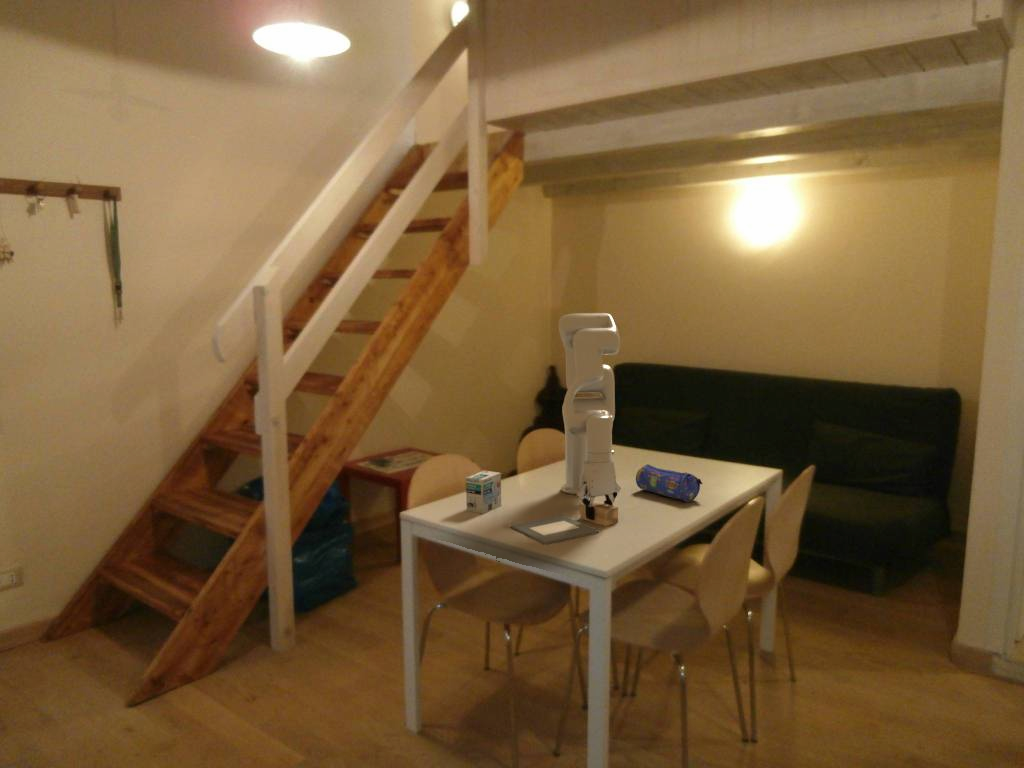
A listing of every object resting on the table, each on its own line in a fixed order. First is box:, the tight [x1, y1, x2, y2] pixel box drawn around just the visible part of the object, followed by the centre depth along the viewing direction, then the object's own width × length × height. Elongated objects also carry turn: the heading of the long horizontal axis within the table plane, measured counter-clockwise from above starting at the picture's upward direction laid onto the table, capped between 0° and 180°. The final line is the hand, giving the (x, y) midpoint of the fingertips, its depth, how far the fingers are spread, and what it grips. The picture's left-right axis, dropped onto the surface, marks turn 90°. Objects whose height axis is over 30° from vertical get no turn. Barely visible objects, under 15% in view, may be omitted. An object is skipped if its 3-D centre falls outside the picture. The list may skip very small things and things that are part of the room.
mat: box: [510, 514, 600, 545], centre depth 210 cm, size 18×18×1 cm
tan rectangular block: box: [579, 499, 619, 527], centre depth 218 cm, size 6×10×4 cm, turn 40°
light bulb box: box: [465, 470, 502, 514], centre depth 232 cm, size 11×7×11 cm, turn 149°
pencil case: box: [635, 464, 703, 504], centre depth 242 cm, size 22×9×10 cm, turn 37°
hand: (599, 516), depth 218 cm, fingers closed on tan rectangular block, 6 cm apart
